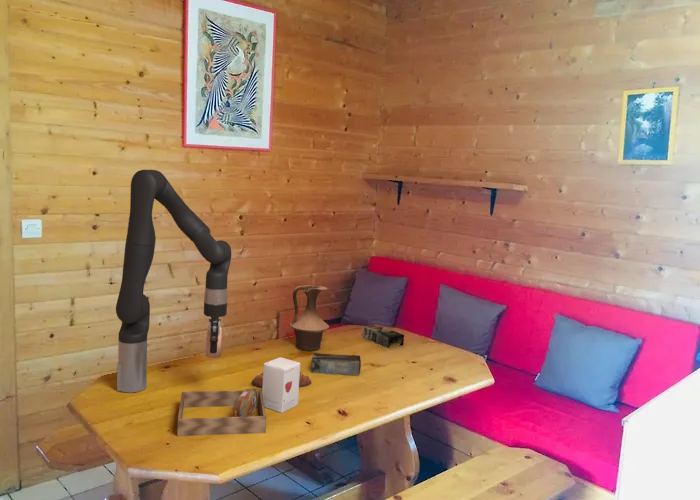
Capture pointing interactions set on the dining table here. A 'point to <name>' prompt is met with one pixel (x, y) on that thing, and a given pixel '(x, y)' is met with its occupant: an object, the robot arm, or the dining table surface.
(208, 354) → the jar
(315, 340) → the pitcher
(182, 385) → the dining table surface
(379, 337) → the dark slotted box
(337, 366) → the beverage carton
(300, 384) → the pastry
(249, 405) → the tin
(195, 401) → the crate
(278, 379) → the supplement box
